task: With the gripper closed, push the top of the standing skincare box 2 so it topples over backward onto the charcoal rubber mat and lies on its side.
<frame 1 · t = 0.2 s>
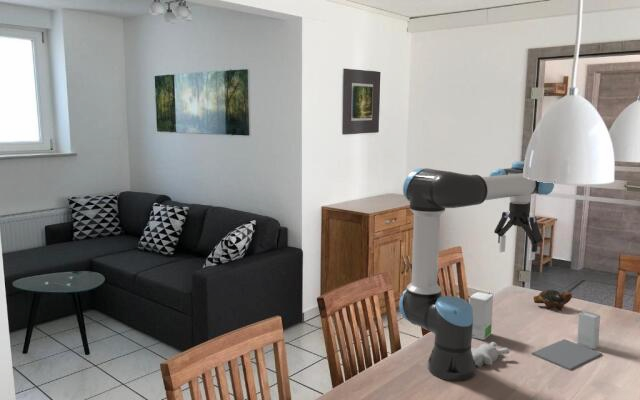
hand: (516, 255, 208), 28 cm above the table, tool pointing down, fingers open, 13 cm apart
bunny figurine: (485, 361, 182), on the table
decorative turtle: (551, 308, 230), on the table
skincare box 2: (587, 346, 193), on the table
skincare box: (479, 335, 202), on the table
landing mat: (566, 354, 186), on the table
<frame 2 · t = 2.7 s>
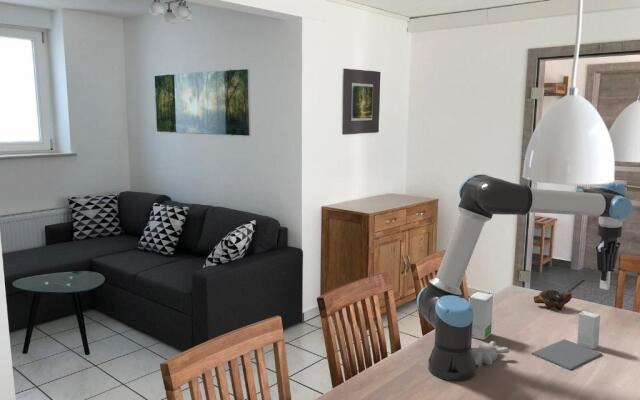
hand: (604, 288, 195), 20 cm above the table, tool pointing down, fingers closed
nothing on the table moved.
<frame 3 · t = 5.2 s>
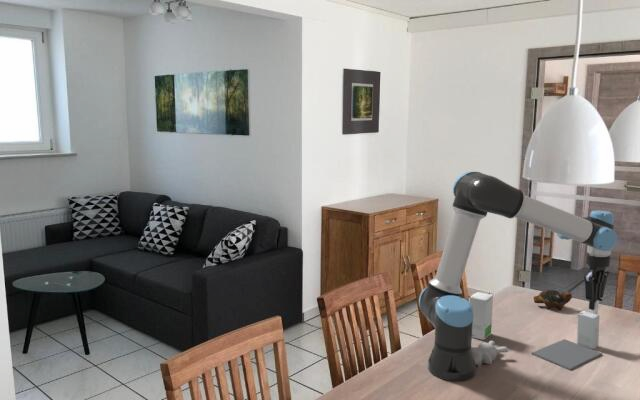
hand: (592, 317, 193), 10 cm above the table, tool pointing down, fingers closed
skincare box 2: (587, 345, 193), on the table, touching gripper
everything else where it was.
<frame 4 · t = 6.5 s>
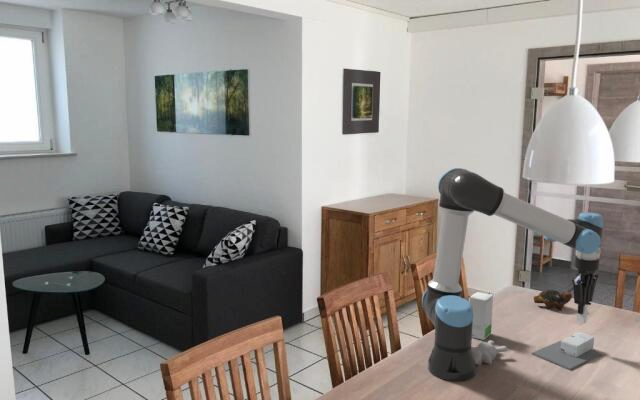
hand: (581, 321, 189), 10 cm above the table, tool pointing down, fingers closed
skincare box 2: (585, 339, 192), point 3 cm above the table, touching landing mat
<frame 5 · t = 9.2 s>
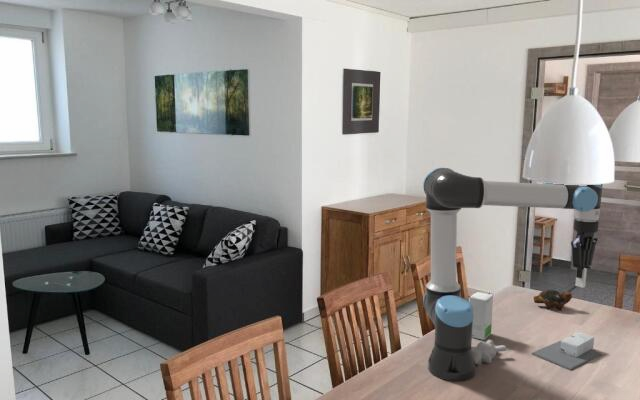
hand: (580, 286, 185), 24 cm above the table, tool pointing down, fingers closed
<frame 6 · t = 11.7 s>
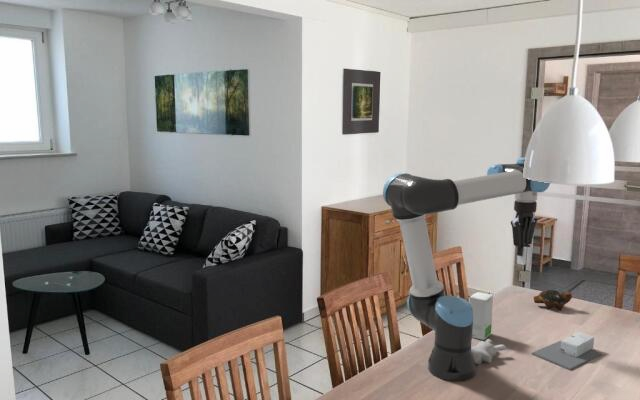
hand: (521, 263, 196), 28 cm above the table, tool pointing down, fingers closed
at the end: skincare box 2 tilted 89°; skincare box 2 inside the target area (4.4 cm from its centre), point 2.6 cm above the table; the gripper is holding nothing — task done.
